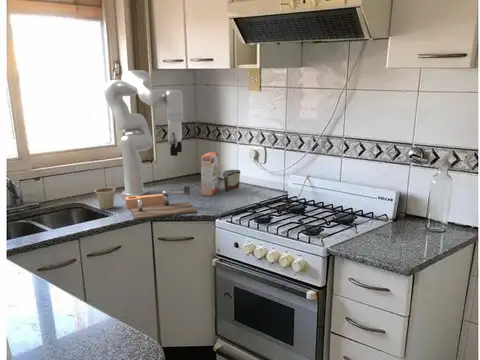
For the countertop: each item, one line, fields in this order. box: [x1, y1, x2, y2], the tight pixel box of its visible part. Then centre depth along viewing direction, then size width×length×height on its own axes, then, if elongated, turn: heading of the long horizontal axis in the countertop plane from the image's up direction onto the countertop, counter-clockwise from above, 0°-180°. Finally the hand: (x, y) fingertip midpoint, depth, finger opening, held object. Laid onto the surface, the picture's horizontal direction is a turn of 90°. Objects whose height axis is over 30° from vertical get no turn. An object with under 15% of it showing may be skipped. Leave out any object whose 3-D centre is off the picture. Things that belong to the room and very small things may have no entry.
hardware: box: [138, 195, 170, 211], centre depth 219 cm, size 2×16×5 cm, turn 130°
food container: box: [222, 169, 242, 192], centre depth 256 cm, size 12×6×10 cm, turn 144°
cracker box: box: [200, 151, 219, 197], centre depth 248 cm, size 14×6×21 cm, turn 168°
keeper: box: [162, 184, 191, 196], centre depth 222 cm, size 13×3×4 cm, turn 85°
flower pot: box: [94, 187, 116, 210], centre depth 224 cm, size 9×9×9 cm
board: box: [129, 201, 198, 221], centre depth 217 cm, size 16×28×1 cm, turn 110°
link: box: [124, 193, 164, 210], centre depth 227 cm, size 18×6×4 cm, turn 110°
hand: (176, 153), depth 222 cm, fingers open, 9 cm apart
